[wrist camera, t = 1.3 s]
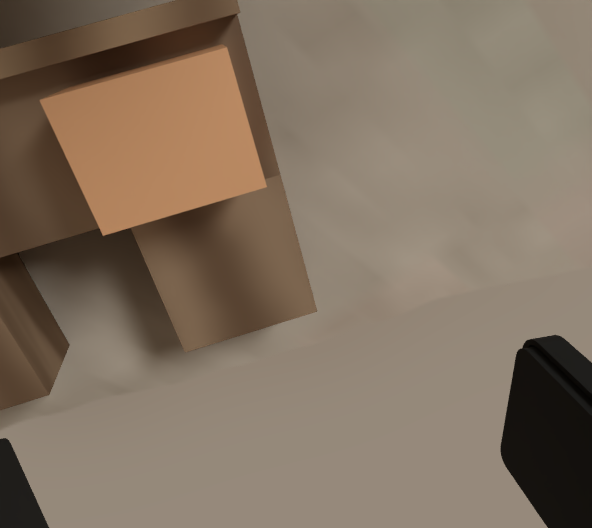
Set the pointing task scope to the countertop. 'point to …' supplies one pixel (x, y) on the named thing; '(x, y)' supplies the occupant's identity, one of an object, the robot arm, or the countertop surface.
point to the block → (157, 139)
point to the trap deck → (149, 236)
